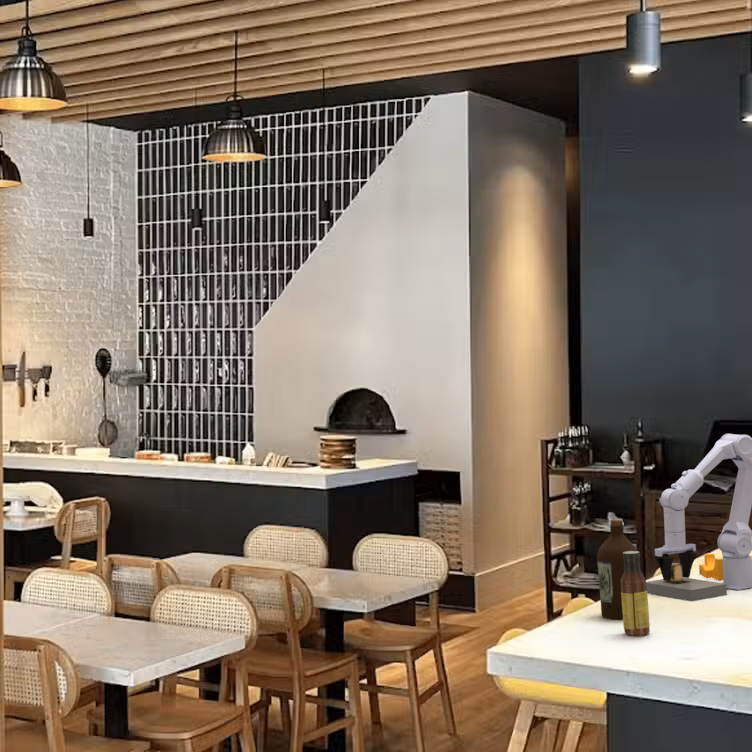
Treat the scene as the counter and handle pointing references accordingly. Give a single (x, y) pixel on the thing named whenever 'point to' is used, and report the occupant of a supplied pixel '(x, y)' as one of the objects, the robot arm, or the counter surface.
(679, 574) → the pin
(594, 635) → the counter surface
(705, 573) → the pipe clamp
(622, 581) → the sauce bottle
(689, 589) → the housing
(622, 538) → the olive oil
